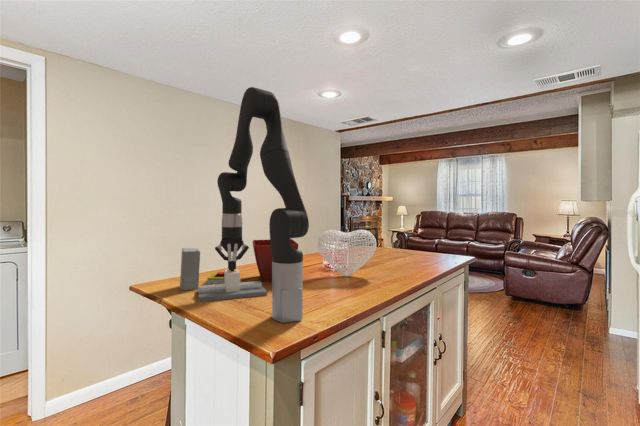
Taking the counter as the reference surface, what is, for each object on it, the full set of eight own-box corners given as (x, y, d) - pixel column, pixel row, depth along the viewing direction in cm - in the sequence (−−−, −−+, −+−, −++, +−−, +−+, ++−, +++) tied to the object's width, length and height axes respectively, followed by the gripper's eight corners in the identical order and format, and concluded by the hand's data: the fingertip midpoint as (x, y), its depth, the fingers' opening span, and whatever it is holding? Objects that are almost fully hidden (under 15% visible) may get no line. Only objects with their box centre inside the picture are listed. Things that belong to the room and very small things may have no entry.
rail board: (267, 295, 122) (267, 291, 122) (198, 301, 113) (198, 297, 113) (259, 286, 135) (259, 282, 135) (198, 291, 126) (198, 287, 126)
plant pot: (254, 284, 138) (254, 244, 137) (252, 274, 156) (252, 239, 156) (298, 282, 143) (298, 243, 142) (291, 272, 161) (291, 238, 161)
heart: (319, 281, 144) (320, 231, 144) (315, 273, 160) (315, 228, 159) (380, 279, 148) (381, 231, 147) (370, 272, 164) (371, 228, 163)
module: (224, 287, 126) (224, 269, 126) (237, 286, 128) (237, 268, 128) (226, 292, 120) (226, 273, 120) (239, 291, 122) (239, 272, 122)
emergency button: (208, 270, 146) (242, 270, 147) (208, 280, 146) (242, 280, 147) (203, 275, 137) (239, 275, 138) (203, 285, 137) (239, 285, 138)
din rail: (261, 288, 126) (261, 282, 126) (201, 293, 118) (201, 287, 118) (259, 285, 130) (259, 280, 130) (201, 290, 122) (201, 285, 122)
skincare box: (179, 286, 134) (179, 248, 133) (198, 284, 137) (197, 247, 137) (181, 291, 126) (181, 250, 126) (200, 289, 130) (200, 249, 129)
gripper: (248, 224, 129) (247, 267, 130) (213, 225, 124) (213, 269, 125) (251, 225, 122) (251, 271, 123) (214, 226, 117) (214, 274, 118)
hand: (231, 270), depth 124 cm, fingers closed
